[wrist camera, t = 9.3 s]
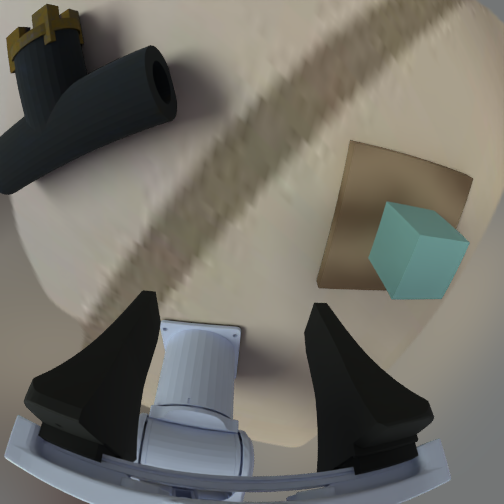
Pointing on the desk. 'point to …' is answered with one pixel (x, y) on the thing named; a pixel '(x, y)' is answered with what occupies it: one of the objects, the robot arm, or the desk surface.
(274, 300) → the desk surface
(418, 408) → the robot arm
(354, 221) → the base plate
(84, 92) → the pipe connector
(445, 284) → the teal cube
